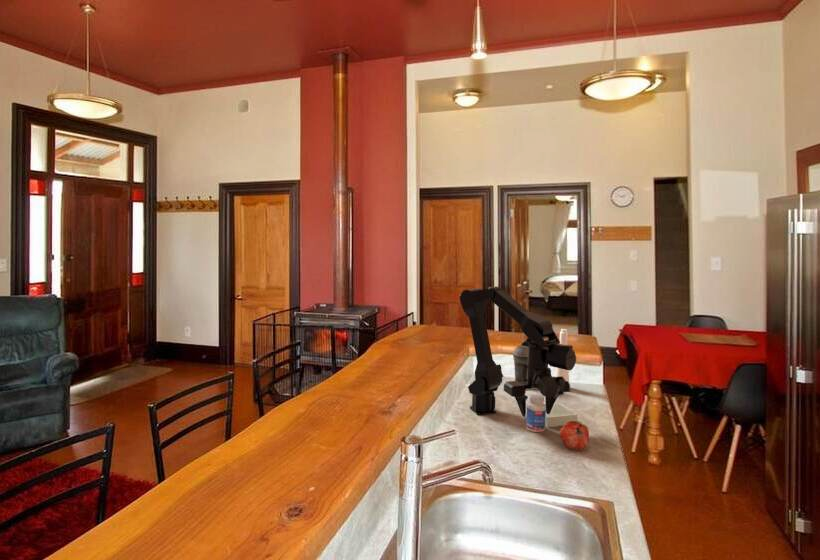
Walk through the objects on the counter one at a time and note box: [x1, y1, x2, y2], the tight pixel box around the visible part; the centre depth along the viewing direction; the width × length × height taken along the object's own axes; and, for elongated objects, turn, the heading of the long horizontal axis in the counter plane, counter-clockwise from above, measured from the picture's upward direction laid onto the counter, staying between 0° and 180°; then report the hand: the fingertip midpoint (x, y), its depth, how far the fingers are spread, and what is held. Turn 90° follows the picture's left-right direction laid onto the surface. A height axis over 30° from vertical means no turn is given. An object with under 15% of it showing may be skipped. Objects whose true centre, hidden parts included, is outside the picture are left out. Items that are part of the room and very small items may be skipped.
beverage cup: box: [512, 332, 528, 384], centre depth 183 cm, size 7×7×20 cm
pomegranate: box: [559, 421, 590, 451], centre depth 131 cm, size 7×7×10 cm
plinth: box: [544, 402, 578, 428], centre depth 151 cm, size 10×10×3 cm
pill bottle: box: [525, 394, 546, 433], centre depth 143 cm, size 6×5×10 cm
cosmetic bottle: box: [554, 328, 570, 383], centre depth 180 cm, size 6×6×22 cm
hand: (535, 415), depth 143 cm, fingers open, 8 cm apart
